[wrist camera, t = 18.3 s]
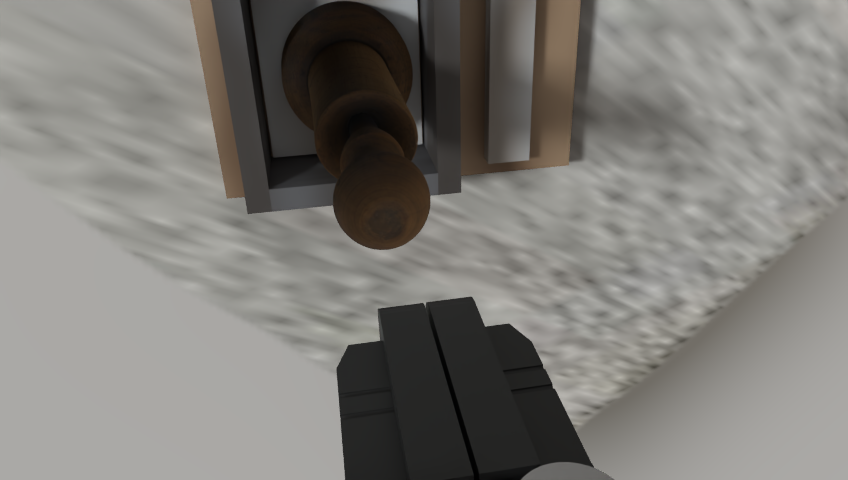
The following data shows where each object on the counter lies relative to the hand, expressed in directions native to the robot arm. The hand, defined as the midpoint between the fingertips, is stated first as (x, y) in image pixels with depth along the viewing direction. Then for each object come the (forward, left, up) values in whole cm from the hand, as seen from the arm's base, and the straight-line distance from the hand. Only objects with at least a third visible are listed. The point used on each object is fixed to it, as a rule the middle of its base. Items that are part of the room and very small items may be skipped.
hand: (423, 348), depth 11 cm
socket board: (-3, +2, -29) cm, 30 cm away
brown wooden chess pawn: (0, +2, -27) cm, 28 cm away
